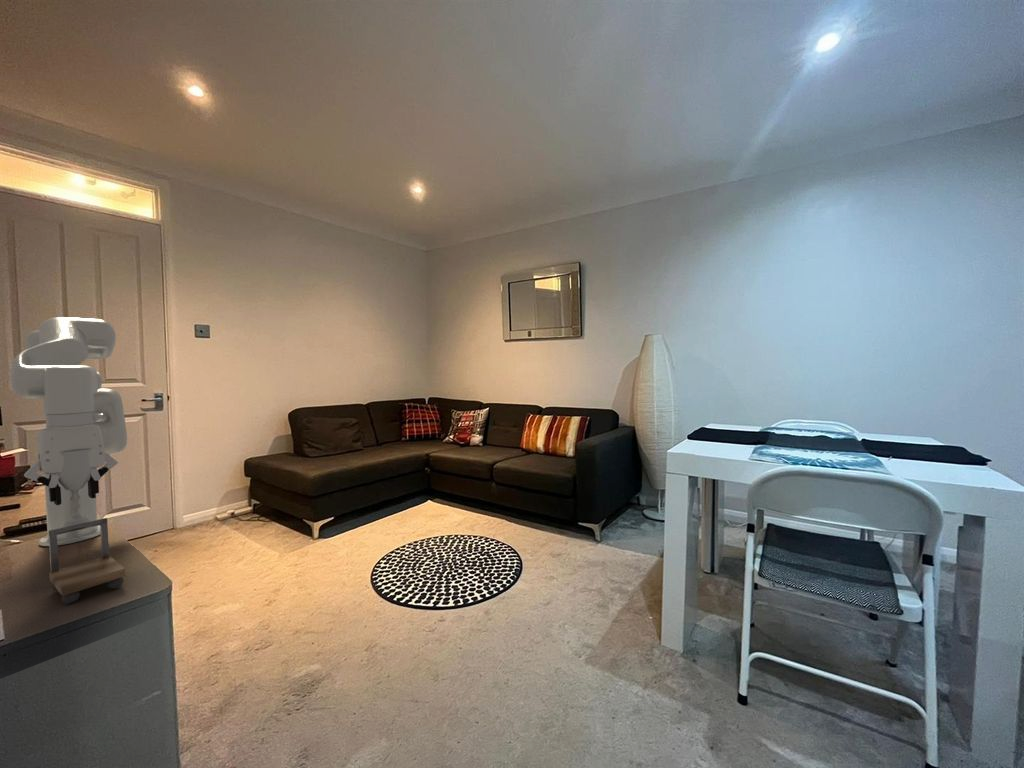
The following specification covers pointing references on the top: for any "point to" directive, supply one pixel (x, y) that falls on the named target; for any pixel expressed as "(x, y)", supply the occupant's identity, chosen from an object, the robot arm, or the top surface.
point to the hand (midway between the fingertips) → (75, 499)
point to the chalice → (75, 481)
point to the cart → (83, 566)
